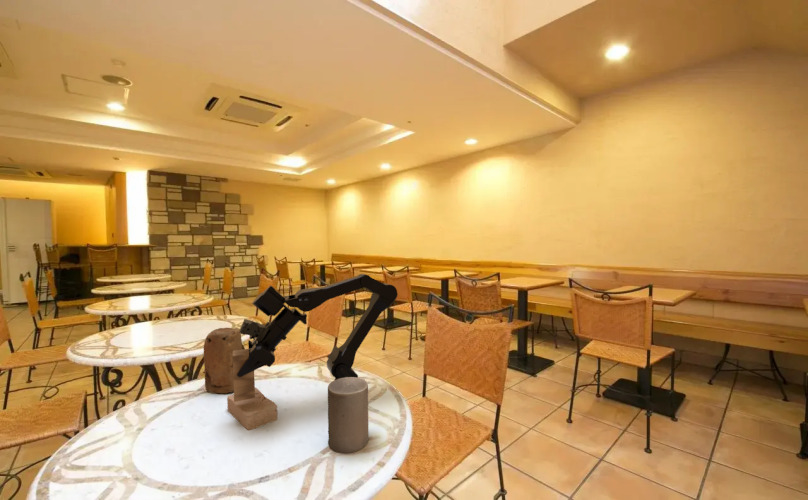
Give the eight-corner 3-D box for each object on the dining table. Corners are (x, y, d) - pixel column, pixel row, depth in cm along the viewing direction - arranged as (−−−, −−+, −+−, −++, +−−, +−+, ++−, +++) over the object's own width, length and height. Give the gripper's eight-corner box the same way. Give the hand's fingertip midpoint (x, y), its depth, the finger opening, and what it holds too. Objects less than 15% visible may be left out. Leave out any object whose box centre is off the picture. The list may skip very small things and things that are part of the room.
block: (245, 385, 114) (244, 326, 114) (232, 395, 107) (230, 332, 107) (215, 384, 115) (214, 326, 115) (200, 394, 108) (198, 332, 108)
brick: (279, 420, 92) (278, 402, 92) (247, 432, 86) (247, 414, 86) (255, 401, 103) (255, 386, 103) (226, 411, 97) (225, 395, 97)
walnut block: (254, 390, 94) (253, 347, 94) (255, 397, 90) (253, 353, 89) (234, 394, 92) (233, 350, 92) (234, 401, 87) (232, 356, 87)
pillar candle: (319, 444, 79) (318, 382, 79) (348, 425, 87) (347, 368, 87) (349, 459, 74) (348, 392, 74) (377, 437, 82) (376, 376, 82)
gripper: (256, 303, 100) (215, 345, 96) (259, 314, 84) (209, 366, 79) (285, 326, 104) (247, 368, 99) (293, 341, 87) (247, 392, 83)
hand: (238, 372), depth 90 cm, fingers closed on walnut block, 5 cm apart
